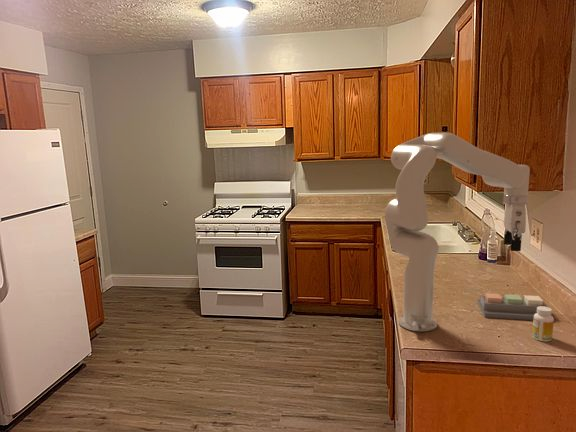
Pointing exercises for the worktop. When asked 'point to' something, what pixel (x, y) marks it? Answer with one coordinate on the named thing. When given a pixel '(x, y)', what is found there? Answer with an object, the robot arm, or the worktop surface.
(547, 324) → the supplement bottle
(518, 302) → the sage key
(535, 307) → the console
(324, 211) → the worktop surface
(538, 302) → the cream key
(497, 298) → the terracotta key
